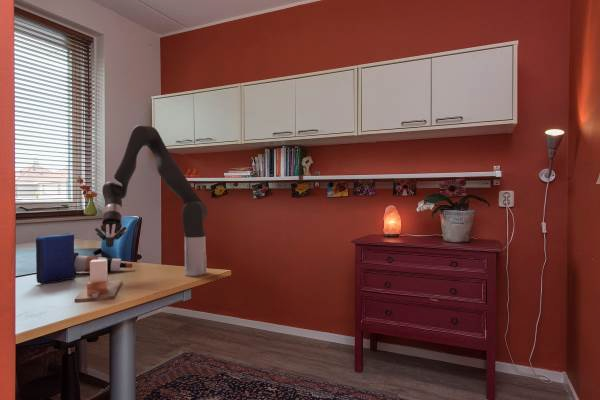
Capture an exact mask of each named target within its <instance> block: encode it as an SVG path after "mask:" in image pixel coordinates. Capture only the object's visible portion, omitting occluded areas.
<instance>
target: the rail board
mask: <svg viewBox="0 0 600 400" xmlns="http://www.w3.org/2000/svg"><path fill="white" fill-rule="evenodd" d="M122 284H123V280H122V279H119V280H108V286H107V281H101V282H90V281H89V282H87V284H86V286H84V287H83V289H82V290H81V291H80V292H79V293H78V294H77V296H76V297H75V298H74V303H80V302H81V303H82V302H93V301H105V300H114V299H115V298H116V296H117V293H118V291H119V289H120V287H121V285H122Z"/></svg>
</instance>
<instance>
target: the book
mask: <svg viewBox="0 0 600 400" xmlns="http://www.w3.org/2000/svg"><path fill="white" fill-rule="evenodd" d="M74 253H75V235H74V233H70V232H68V233H62V234H58V235H57V234H56V235H43V236H42V235H41V236H38V237H36V239H35V259H36V262H35V263H36V264H35V265H36V269H35V270H36V272H35V273H36V282H37V283H38V284H41V285H43V284H49V283H55V282H60V281H61V282H62V281H67V280H72V279H74V278H76V274H77V272H76V273H75V266H74Z"/></svg>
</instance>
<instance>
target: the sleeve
mask: <svg viewBox="0 0 600 400" xmlns="http://www.w3.org/2000/svg"><path fill="white" fill-rule="evenodd" d="M101 281H107V286H108V281H109V279H108V272H107V259H98V260H92V261H90V272H89V282H101Z"/></svg>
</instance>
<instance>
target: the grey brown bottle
mask: <svg viewBox="0 0 600 400" xmlns="http://www.w3.org/2000/svg"><path fill="white" fill-rule="evenodd" d="M98 259H107V273H110V272H118V273H119V272H120V271H121V268H122V269H124V268H125V269H132V268H133V263H131V262H129V263H127V262H122V259H121V258H113V257H102V256H101V257H99V256H90V255H89V256H88V255H87V256H86V255H80V254H79V252H74V266H75V273H76V274H77V273H80V272H81V273H82V272H84V273H90V261H92V260H98Z"/></svg>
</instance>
